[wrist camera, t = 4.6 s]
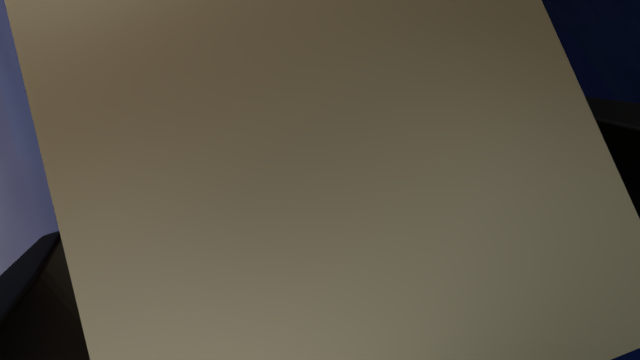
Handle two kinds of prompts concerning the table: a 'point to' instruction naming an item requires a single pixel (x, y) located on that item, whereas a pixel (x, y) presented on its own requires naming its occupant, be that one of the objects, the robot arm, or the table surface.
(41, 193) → the table surface
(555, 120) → the ash post
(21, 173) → the table surface
